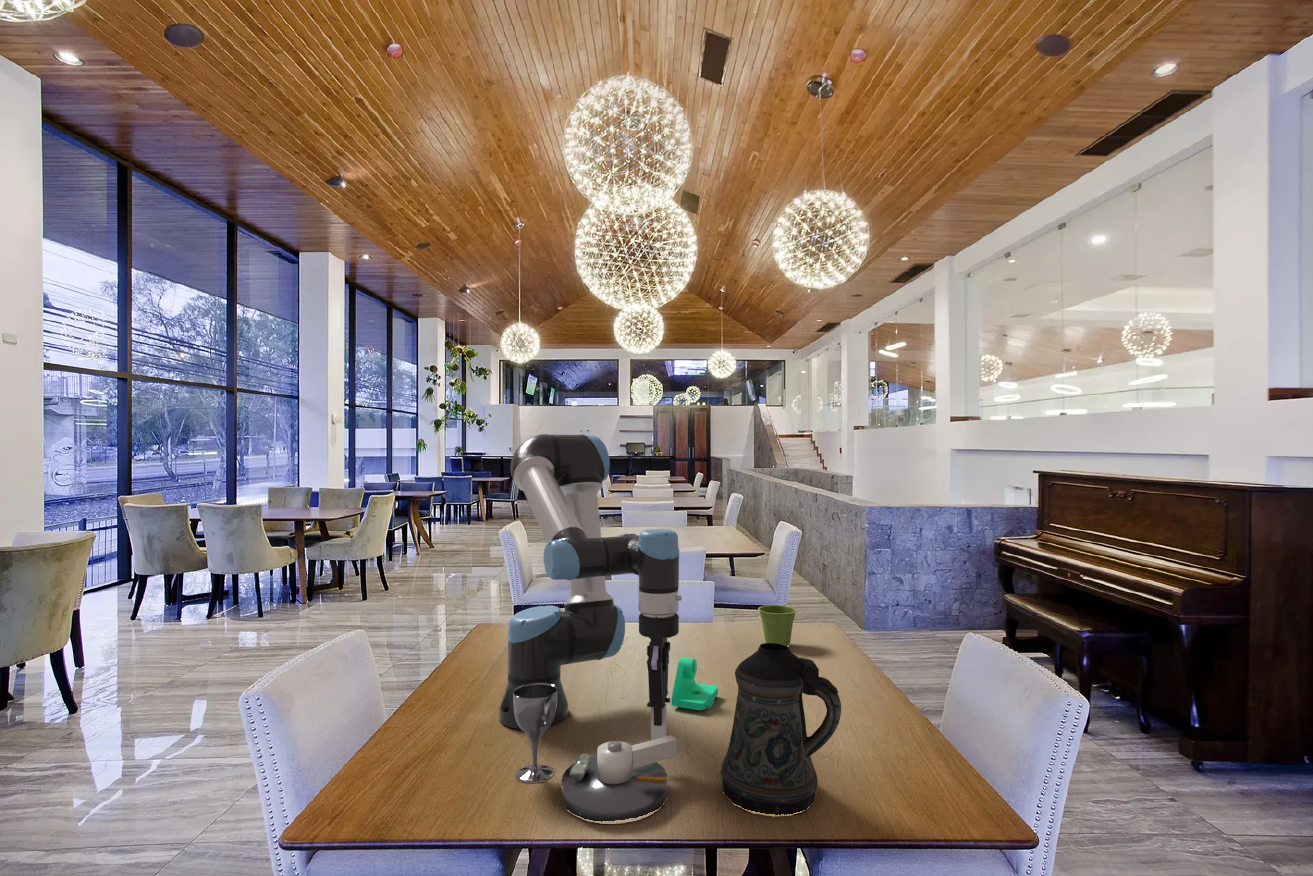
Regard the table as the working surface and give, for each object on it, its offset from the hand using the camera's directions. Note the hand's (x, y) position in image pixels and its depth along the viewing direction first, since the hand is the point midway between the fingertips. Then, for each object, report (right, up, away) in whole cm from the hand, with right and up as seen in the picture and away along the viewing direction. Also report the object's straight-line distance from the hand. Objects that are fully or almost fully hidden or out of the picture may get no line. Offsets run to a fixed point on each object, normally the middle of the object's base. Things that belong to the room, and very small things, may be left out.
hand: (658, 740), depth 119 cm
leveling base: (-8, -5, -10) cm, 13 cm away
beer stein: (+20, -5, -9) cm, 23 cm away
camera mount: (+9, -7, +31) cm, 33 cm away
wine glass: (-23, -5, -3) cm, 23 cm away
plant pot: (+37, -8, +77) cm, 86 cm away
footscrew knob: (-4, -1, -7) cm, 8 cm away
